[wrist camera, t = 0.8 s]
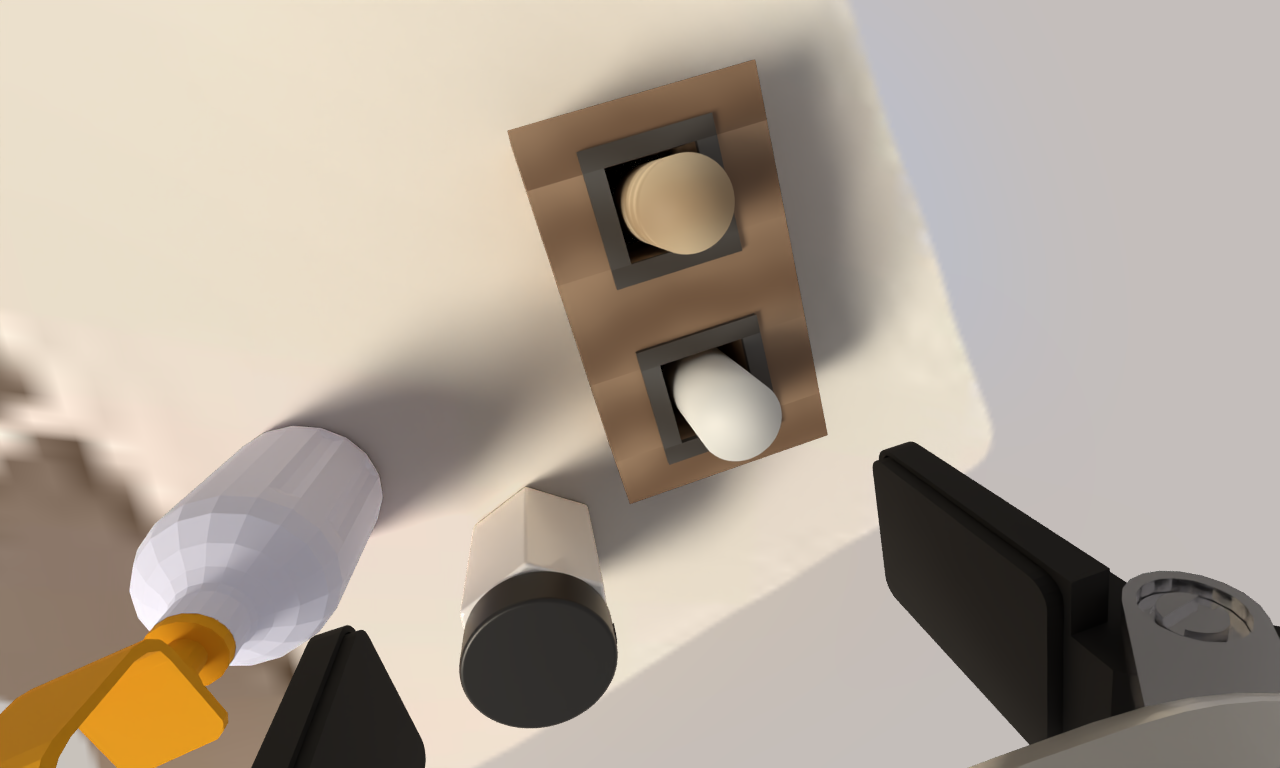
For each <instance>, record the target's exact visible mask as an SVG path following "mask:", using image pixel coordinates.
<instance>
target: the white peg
mask: <svg viewBox="0 0 1280 768" xmlns="http://www.w3.org/2000/svg"><path fill="white" fill-rule="evenodd" d="M663 378H664V381H665V385H666V388H667V392H668V396H669V397H670V399H671V400H672V401H673V403H674V404H675V405H676V407H677V408H678V409H679V411H680V412H681V414H682V415H683V416H684V418H685V419H686V420H687V422H688V423H689V424H690V426H691V427H692V429H693V430H694V431H695V433H696V434H697V435H698V437H699V438H700V440H701V441H702V442H703V444H704V445H705V446H706V448H707V449H708V450H709V451H710V452H711V453H712V454H714V455H715V456H717V457H719V458H721V459H724V460H728V461H743V460H748V459H751V458H753V457H755V456H757V455H759V454H761V453H762V452H763V451H765V450H766V449H767V448H768V447H769V446H770V445H771V444H772V442H773V441H774V439H775V438H776V436H777V434H778V432H779V429H780V425H781V420H782V412H781V406H780V403H779V401H778V399H777V397H776V395H775V394H774V393H773V392H772V390H771V389H769V388H768V387H767V386H766V385H764V384H763V383H762V382H760V381H759V380H758V379H757V378H755V377H754V376H753V375H751V374H750V373H749V372H748V371H746V370H745V369H744V368H742V367H741V366H740V365H738V364H737V363H736V362H735V361H733V360H732V359H731V358H729V357H728V356H727V355H726V354H724V353H723V352H722V351H720V350H719V349H718V348H716V347H715V348H712V349H709V350H706V351H703V352H700V353H697V354H694V355H691V356H688V357H685V358H682V359H679V360H676V361H672V362H669V363H666V365H665V367H664V371H663Z"/></svg>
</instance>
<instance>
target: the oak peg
mask: <svg viewBox="0 0 1280 768" xmlns="http://www.w3.org/2000/svg"><path fill="white" fill-rule="evenodd" d="M613 202H614V205H615V209H616V212H617V216H618V219H619V223H620V226H621V228H622V229H623V230H624V231H625V232H626V233H627V234H628V235H630V236H631V237H633V238H635V239H637V240H639V241H642V242H645V243H648V244H651V245H653V246H656V247H659V248H662V249H665V250H667V251H670V252H673V253H677V254H695V253H699V252H702V251H704V250H706V249H708V248H710V247H712V246H713V245H714V244H716V243H717V242H718V241H719V240H720V239H721V238H722V236H723V235H724V234H725V232H726V231H727V229H728V227H729V225H730V223H731V220H732V217H733V213H734V206H735V197H734V190H733V187H732V184H731V181H730V179H729V177H728V175H727V174H726V172H725V171H724V169H723V168H722V167H721V166H720V165H719V164H718V163H717V162H715V161H714V160H713V159H711V158H709V157H707V156H705V155H702V154H699V153H694V152H683V153H678V154H674V155H671V156H667V157H664V158H661V159H657V160H654V161H651V162H647V163H644V164H641V165H638V166H636V167H634V168H632V169H630V170H629V171H628V172H627V173H626V174H625V175H624V176H623V177H622V178H621V179H620V181H619V183H618V185H617V187H616V189H615V193H614V199H613Z"/></svg>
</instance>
